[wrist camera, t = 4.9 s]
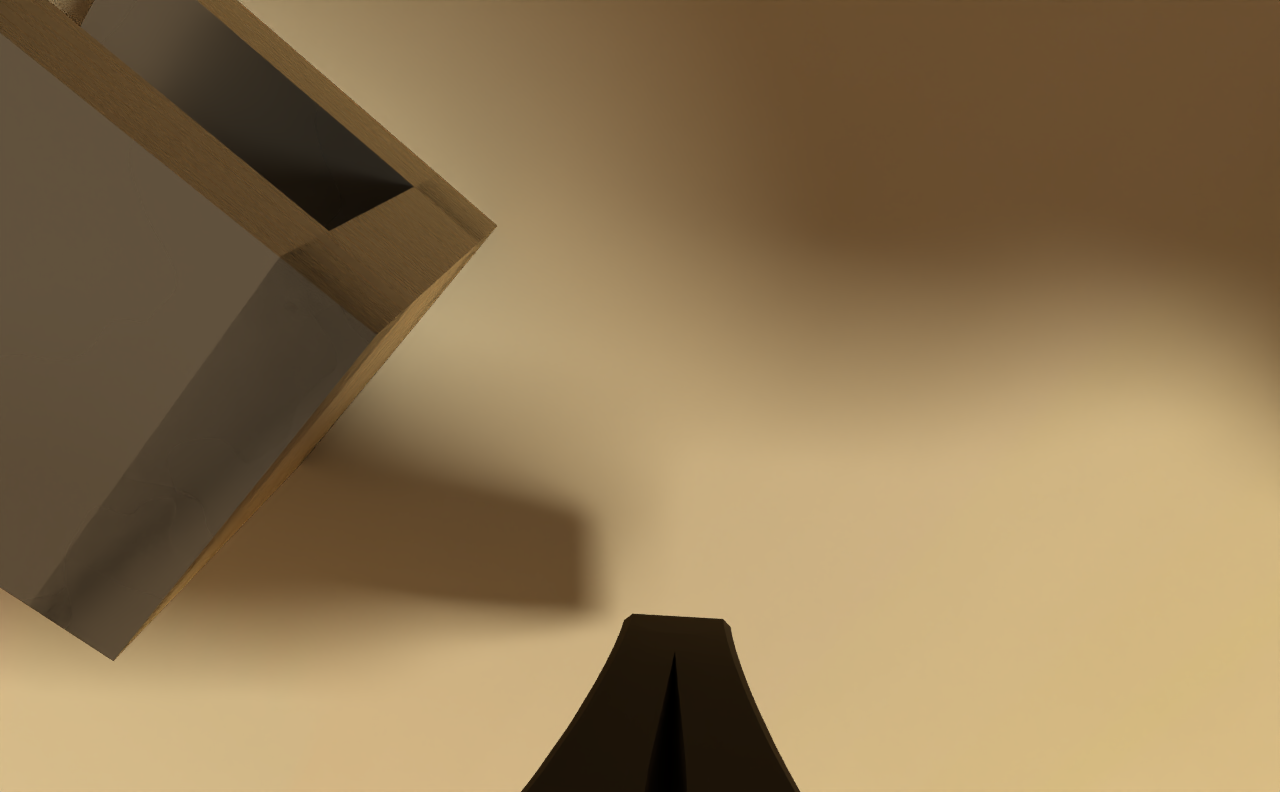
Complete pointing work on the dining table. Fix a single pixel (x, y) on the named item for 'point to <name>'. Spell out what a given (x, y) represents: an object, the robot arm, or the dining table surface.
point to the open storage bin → (184, 289)
